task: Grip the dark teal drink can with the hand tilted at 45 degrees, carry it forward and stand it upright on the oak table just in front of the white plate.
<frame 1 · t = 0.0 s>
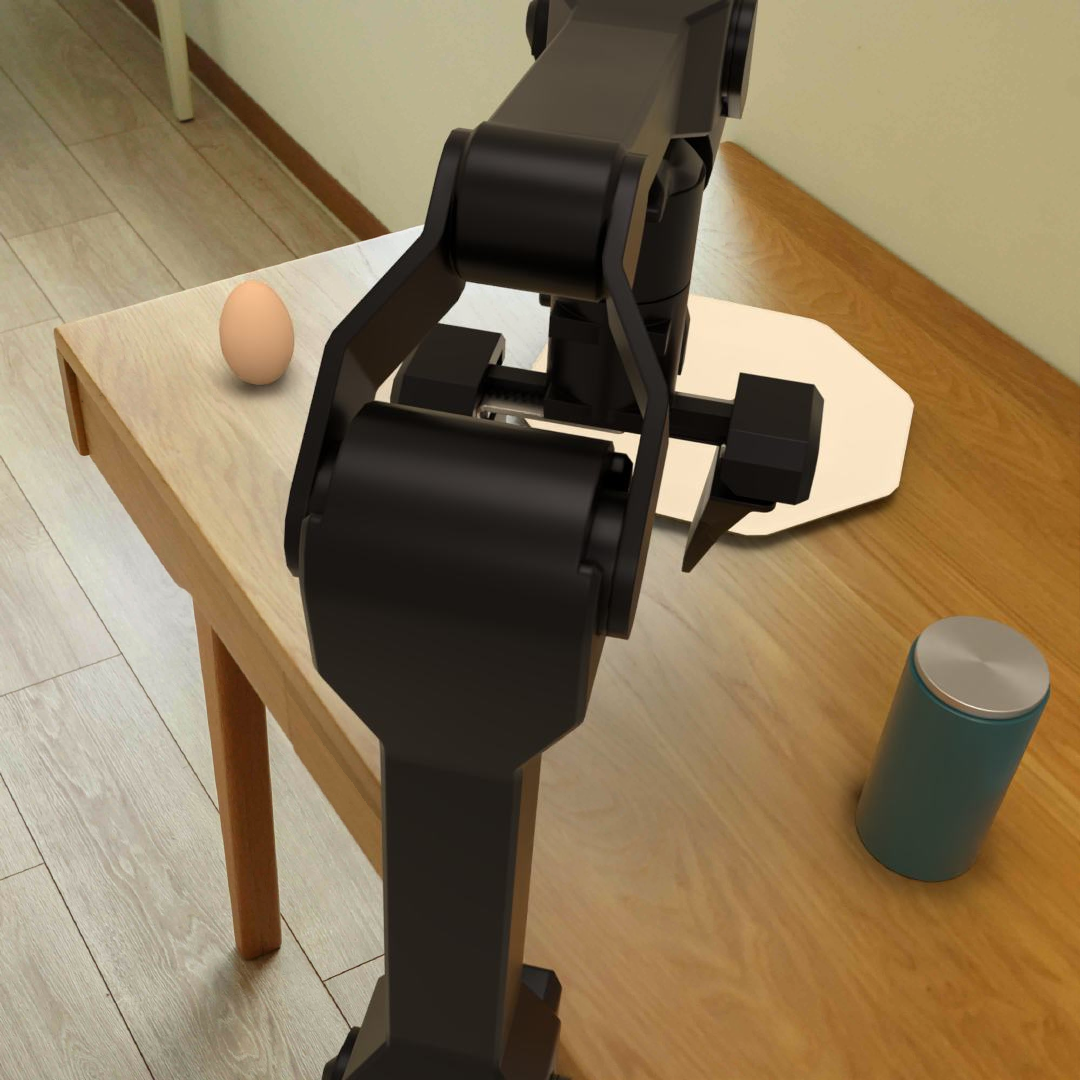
hand: (593, 549, 66), 14 cm above the table, tool pointing down, fingers open, 9 cm apart
can: (917, 829, 72), on the table
cup: (415, 511, 89), on the table
plate: (713, 418, 99), on the table
egg: (261, 382, 99), on the table
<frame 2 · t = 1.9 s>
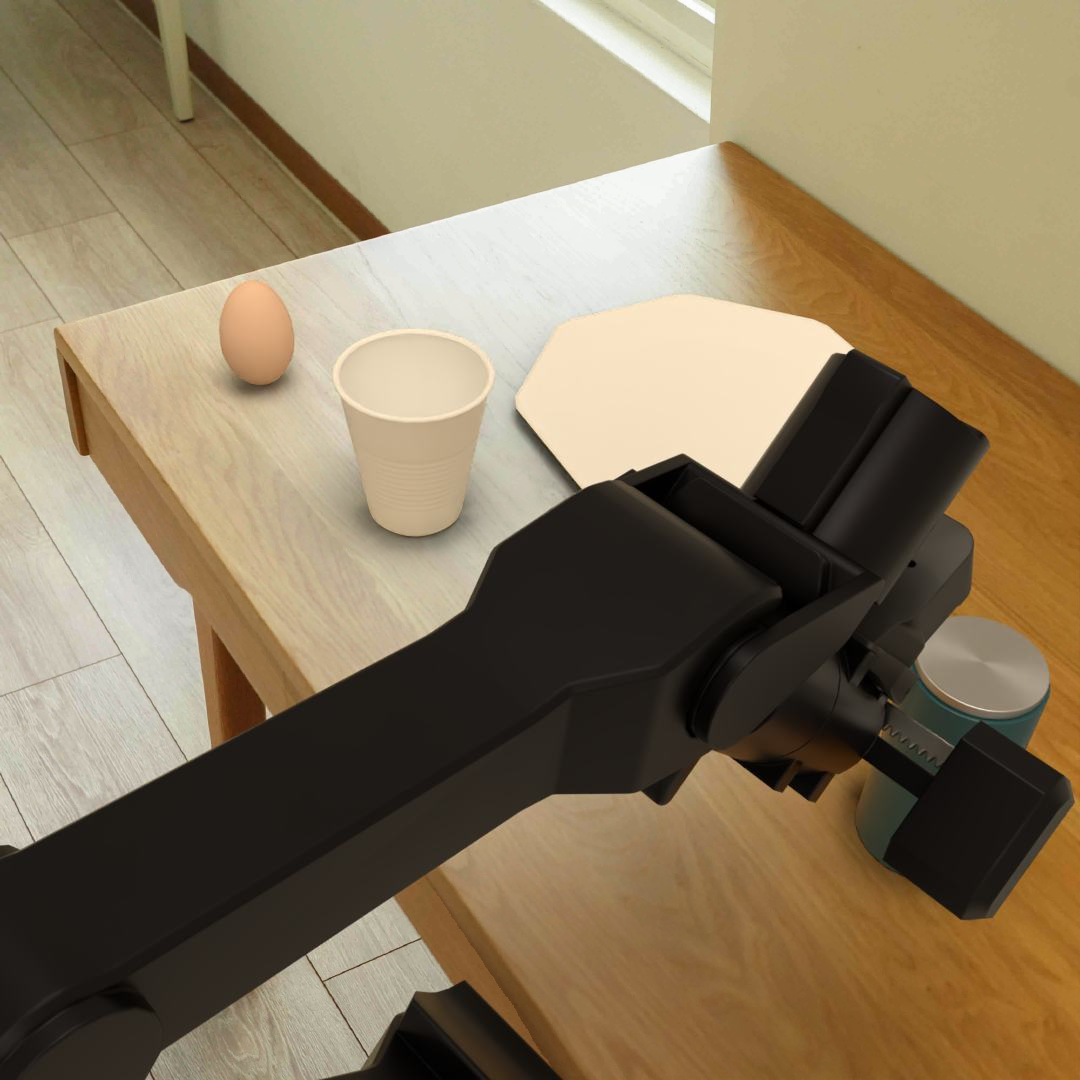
hand: (868, 734, 59), 13 cm above the table, tool tilted 45°, fingers open, 9 cm apart
nothing on the table moved.
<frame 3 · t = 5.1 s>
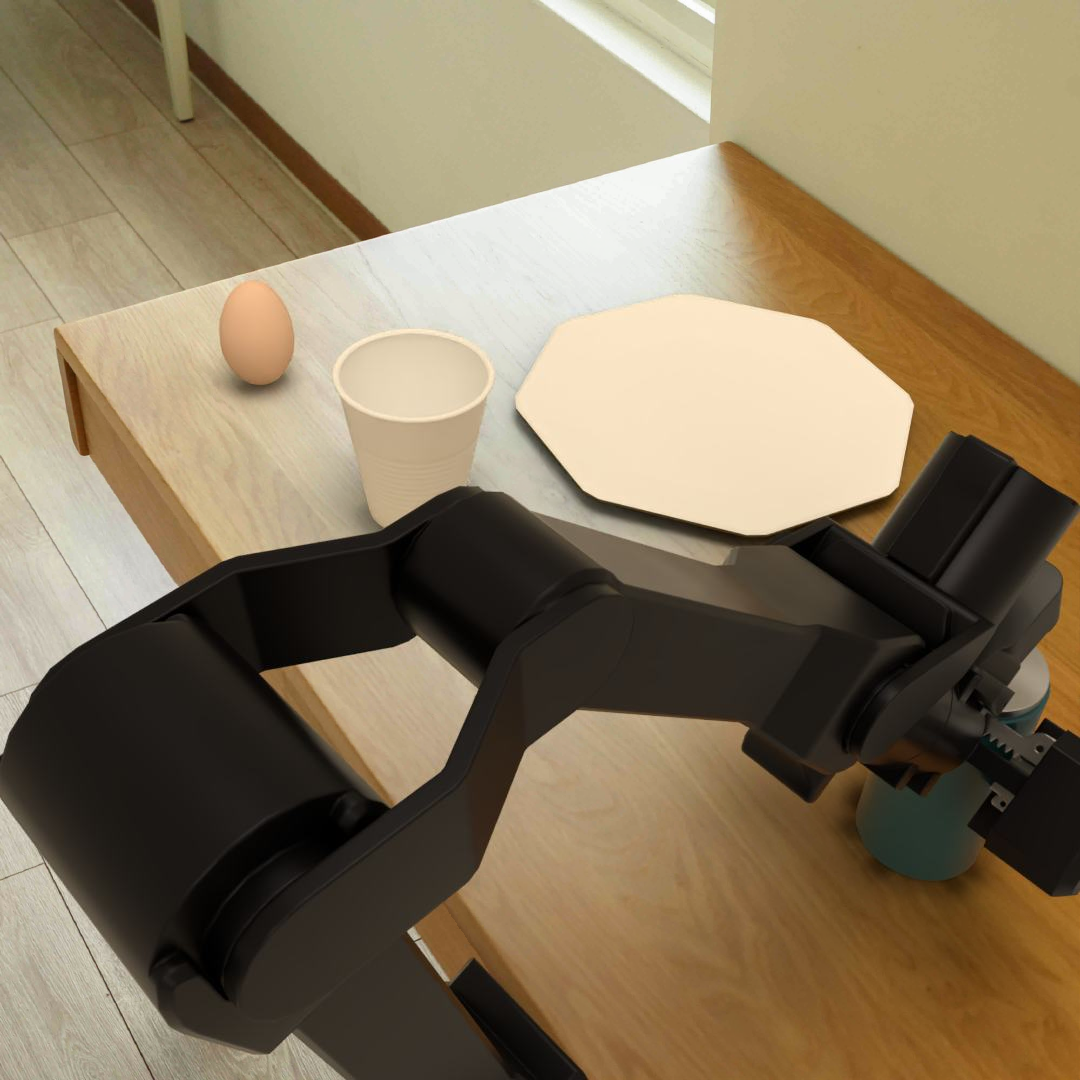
hand: (964, 735, 68), 7 cm above the table, tool tilted 45°, fingers closed on can, 6 cm apart
can: (917, 828, 72), on the table, touching gripper
everything else where it was.
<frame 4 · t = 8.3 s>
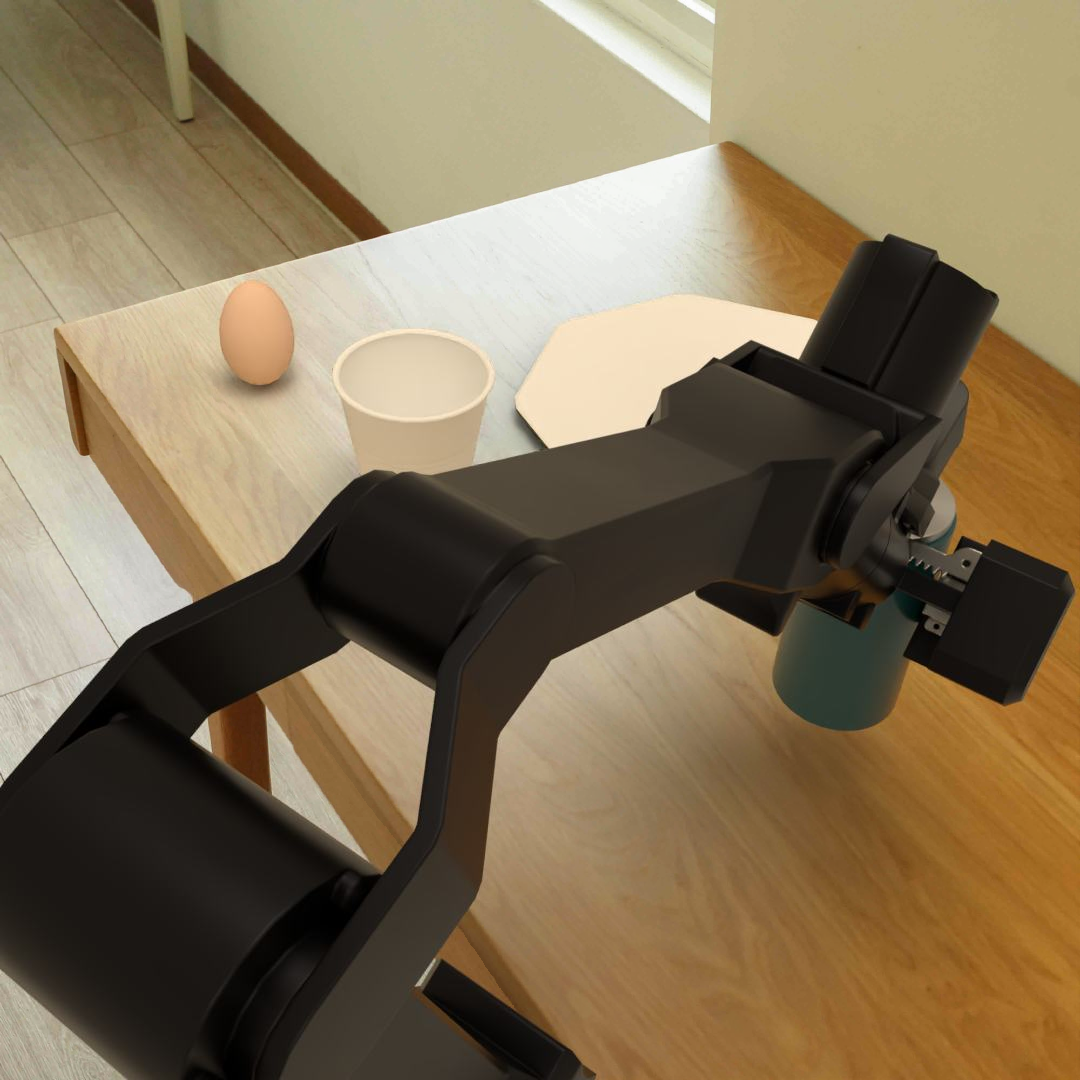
hand: (871, 579, 68), 12 cm above the table, tool tilted 45°, fingers closed on can, 6 cm apart
can: (834, 683, 71), point 6 cm above the table, touching gripper
everything else where it was.
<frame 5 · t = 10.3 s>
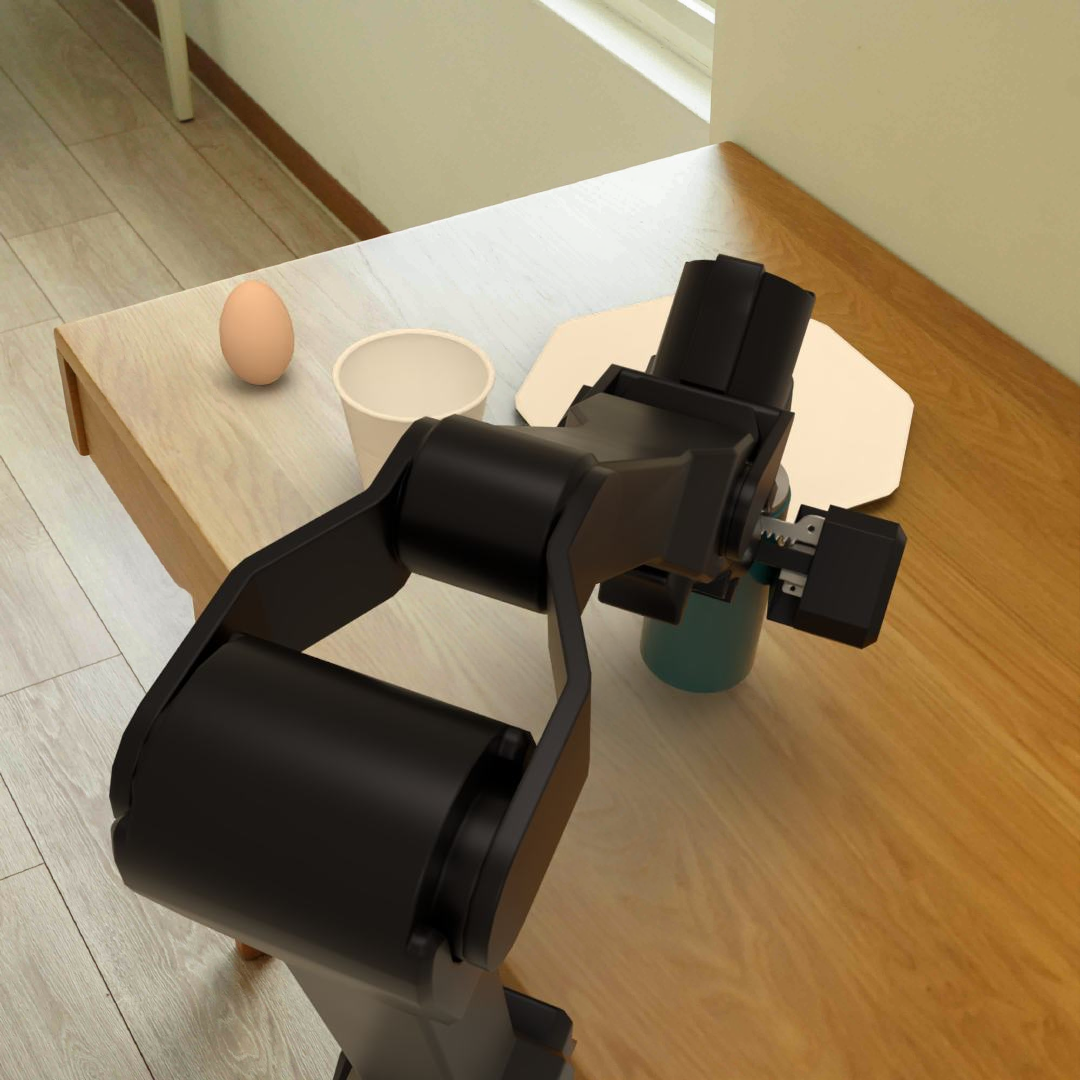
hand: (719, 552, 74), 9 cm above the table, tool tilted 45°, fingers closed on can, 6 cm apart
can: (696, 651, 78), point 2 cm above the table, touching gripper
everything else where it was.
when the fingers open (7 cm above the table, at t = 11.6 s): can stays where it is, on the table.
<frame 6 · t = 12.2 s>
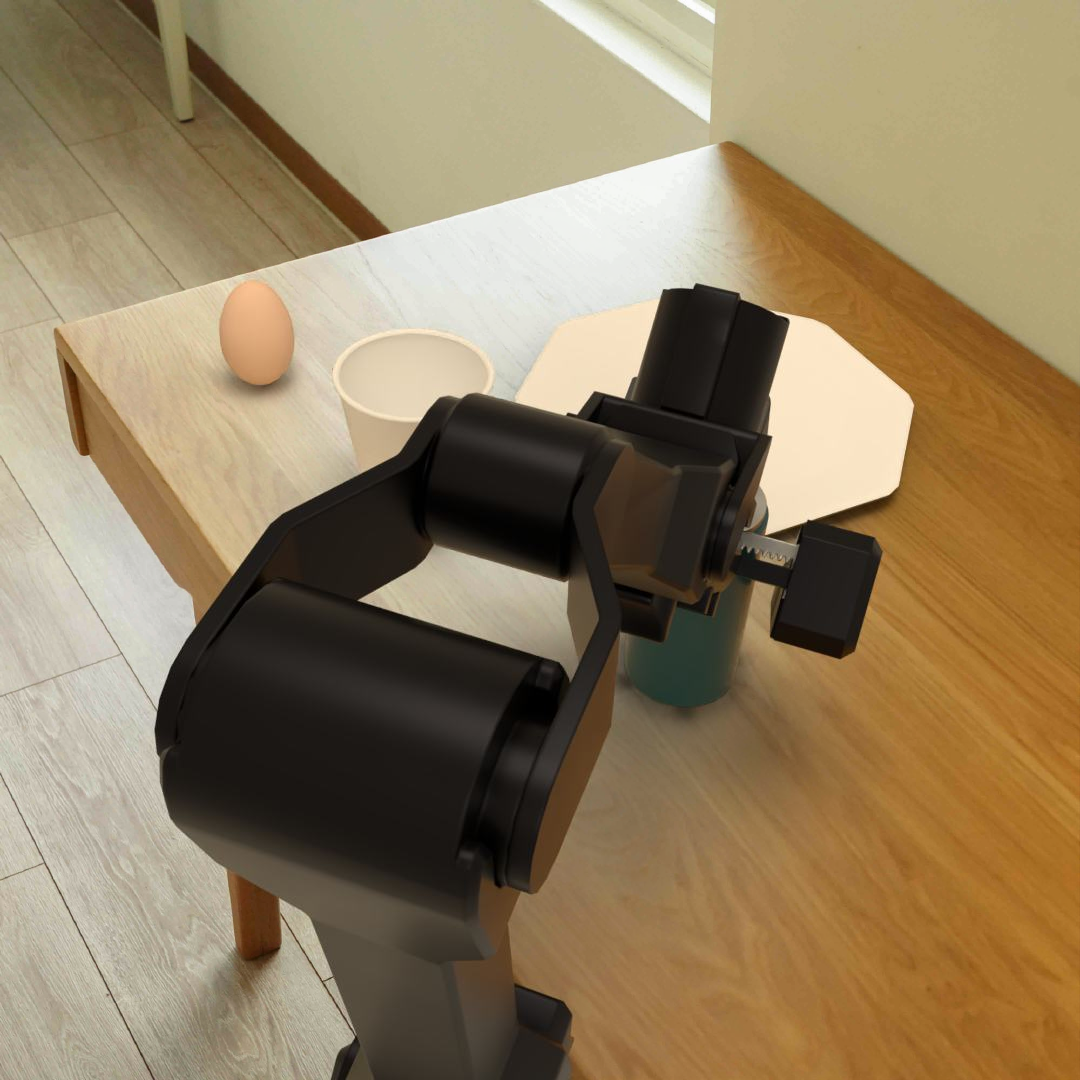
hand: (700, 564, 76), 7 cm above the table, tool tilted 45°, fingers open, 9 cm apart
can: (679, 665, 80), on the table
everything else where it was.
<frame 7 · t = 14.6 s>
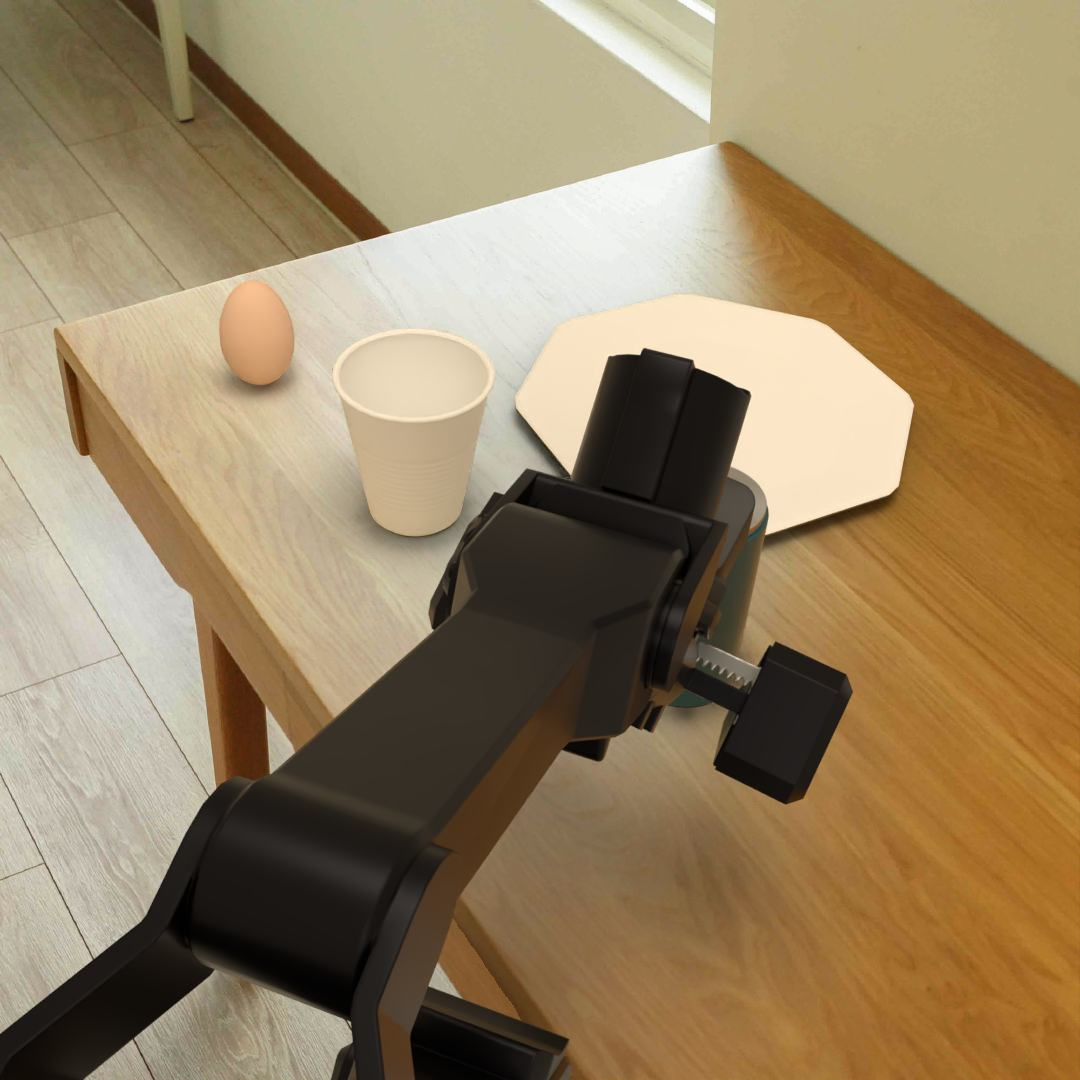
hand: (654, 666, 69), 8 cm above the table, tool tilted 40°, fingers open, 9 cm apart
nothing on the table moved.
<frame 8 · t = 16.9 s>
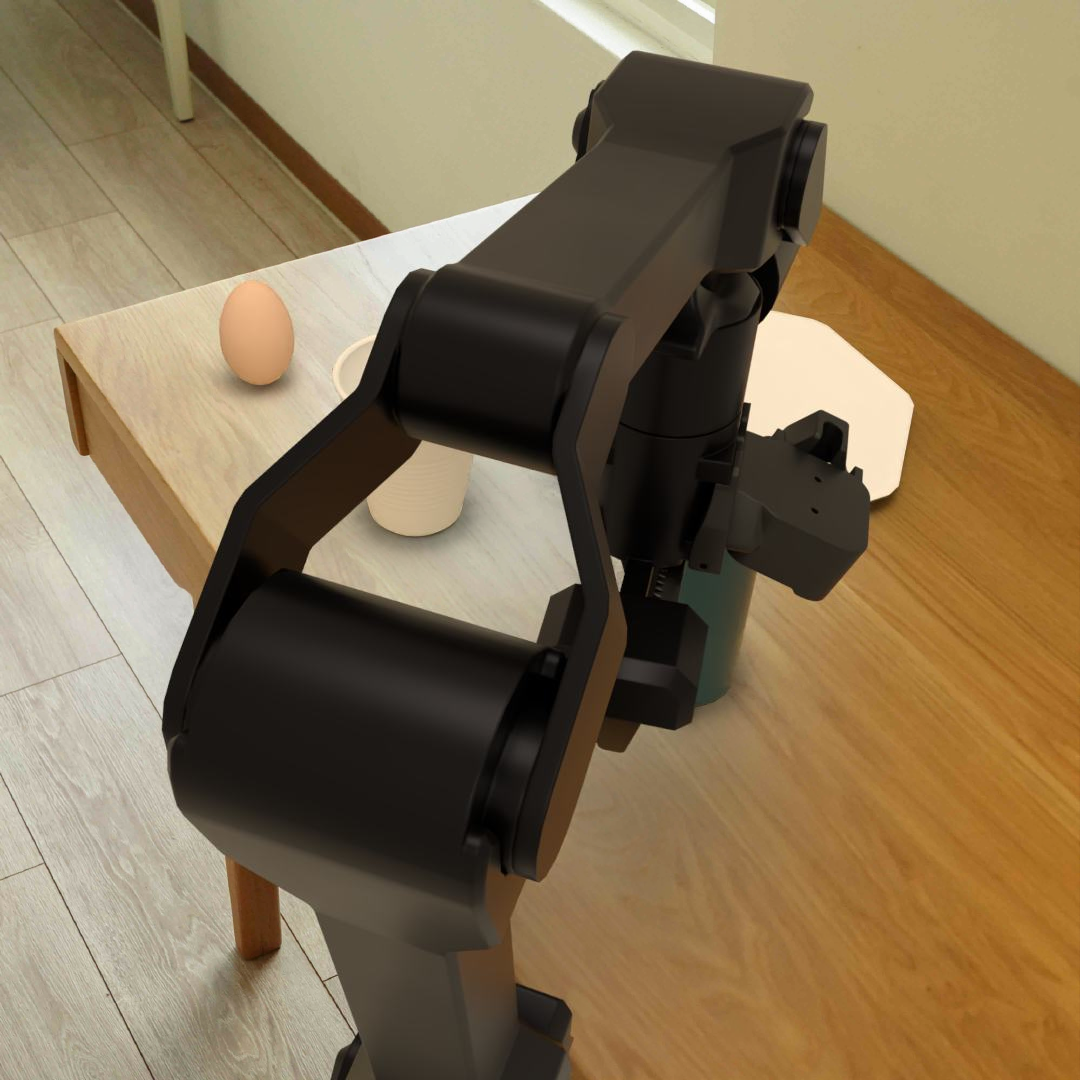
hand: (629, 672, 62), 13 cm above the table, tool pointing down, fingers open, 9 cm apart
nothing on the table moved.
at the end: can 25.5 cm from the plate (horizontally); can tilted 0°; the gripper is holding nothing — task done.
